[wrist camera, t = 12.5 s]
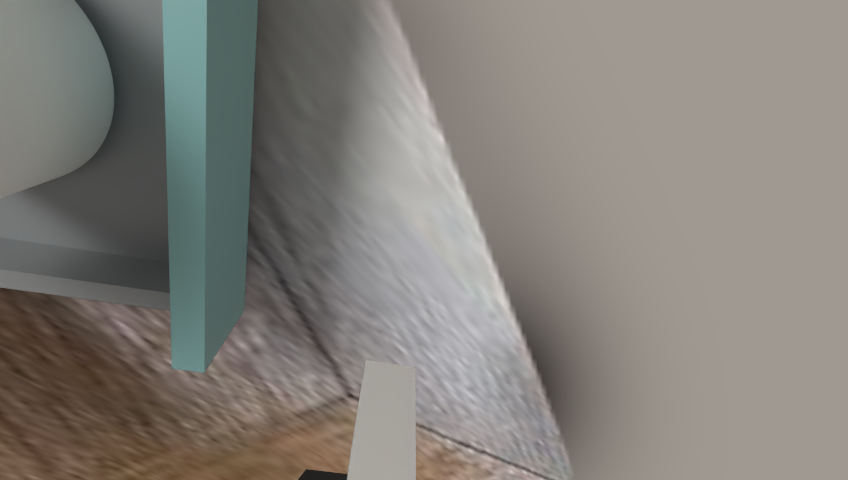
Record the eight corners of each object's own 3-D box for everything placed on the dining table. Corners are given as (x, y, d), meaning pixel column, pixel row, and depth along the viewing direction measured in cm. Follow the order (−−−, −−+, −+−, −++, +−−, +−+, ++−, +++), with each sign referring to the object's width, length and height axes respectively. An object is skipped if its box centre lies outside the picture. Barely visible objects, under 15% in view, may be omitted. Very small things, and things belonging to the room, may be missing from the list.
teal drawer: (-79, 264, 20) (-208, 320, 16) (-209, -253, 14) (-482, -387, 10) (244, 309, 22) (204, 372, 17) (264, -141, 15) (208, -216, 11)
